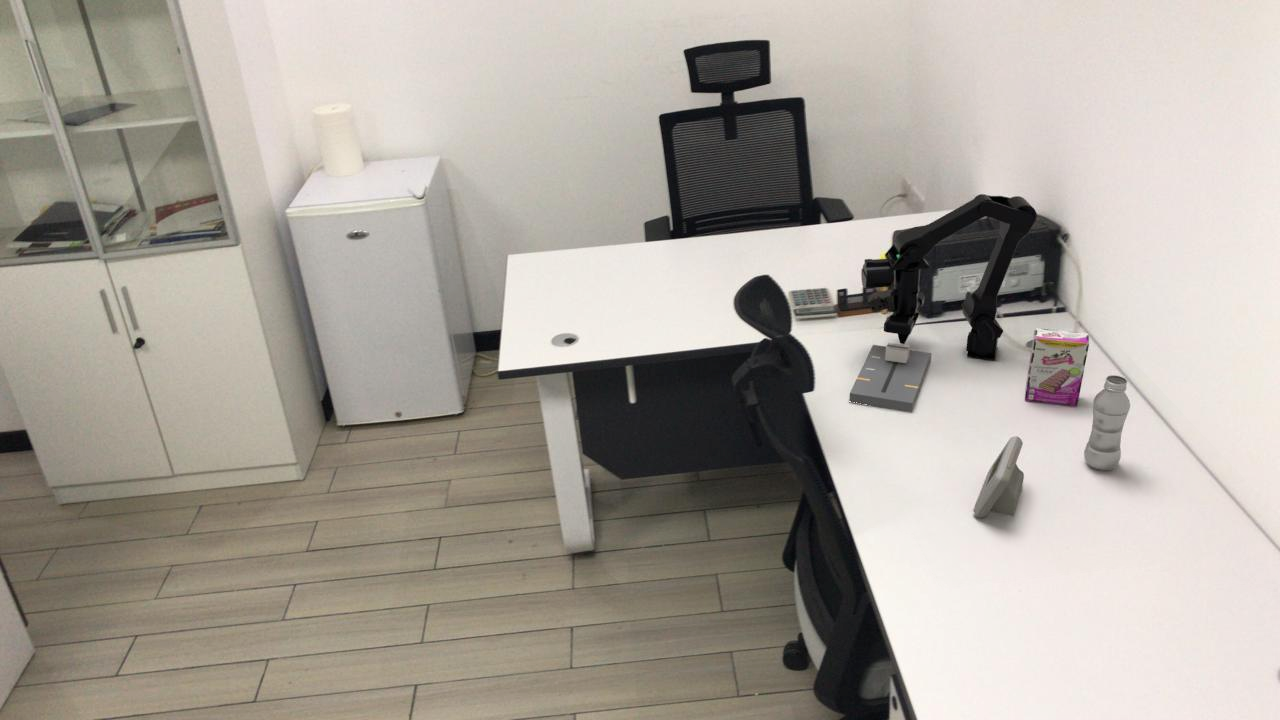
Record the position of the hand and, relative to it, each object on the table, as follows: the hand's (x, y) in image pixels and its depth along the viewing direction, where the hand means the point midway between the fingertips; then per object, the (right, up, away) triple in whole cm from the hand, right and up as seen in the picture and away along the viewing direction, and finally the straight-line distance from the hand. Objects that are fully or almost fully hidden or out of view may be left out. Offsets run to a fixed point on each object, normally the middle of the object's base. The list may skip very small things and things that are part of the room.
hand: (902, 343), depth 242 cm
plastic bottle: (+29, -26, -41) cm, 56 cm away
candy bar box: (+29, -13, -18) cm, 36 cm away
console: (-5, -9, -7) cm, 13 cm away
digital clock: (+6, -31, -48) cm, 57 cm away
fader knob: (-2, -4, -4) cm, 6 cm away
